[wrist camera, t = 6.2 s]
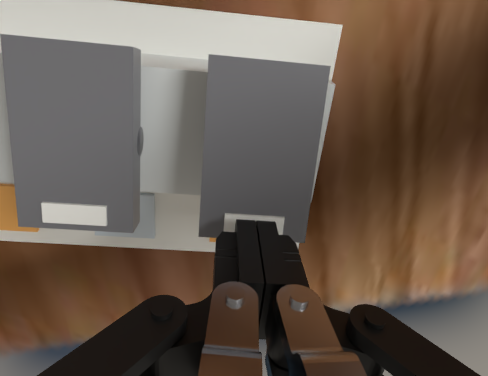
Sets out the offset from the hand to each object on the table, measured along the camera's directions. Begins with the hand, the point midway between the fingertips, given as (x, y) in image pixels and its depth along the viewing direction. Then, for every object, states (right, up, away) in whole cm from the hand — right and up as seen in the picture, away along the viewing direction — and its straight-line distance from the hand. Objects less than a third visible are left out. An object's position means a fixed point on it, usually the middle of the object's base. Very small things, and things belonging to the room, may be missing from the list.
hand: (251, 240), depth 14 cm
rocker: (0, +4, +1) cm, 4 cm away
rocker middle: (-7, +4, +1) cm, 8 cm away
